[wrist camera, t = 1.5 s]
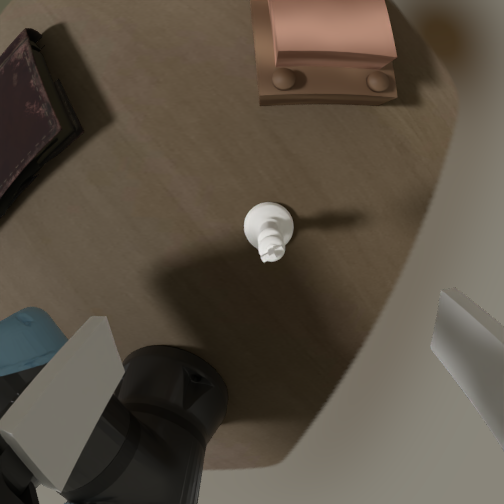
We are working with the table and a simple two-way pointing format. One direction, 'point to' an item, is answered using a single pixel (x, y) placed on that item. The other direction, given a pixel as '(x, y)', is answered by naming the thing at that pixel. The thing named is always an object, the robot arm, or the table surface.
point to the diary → (30, 116)
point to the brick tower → (323, 52)
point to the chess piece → (269, 229)
